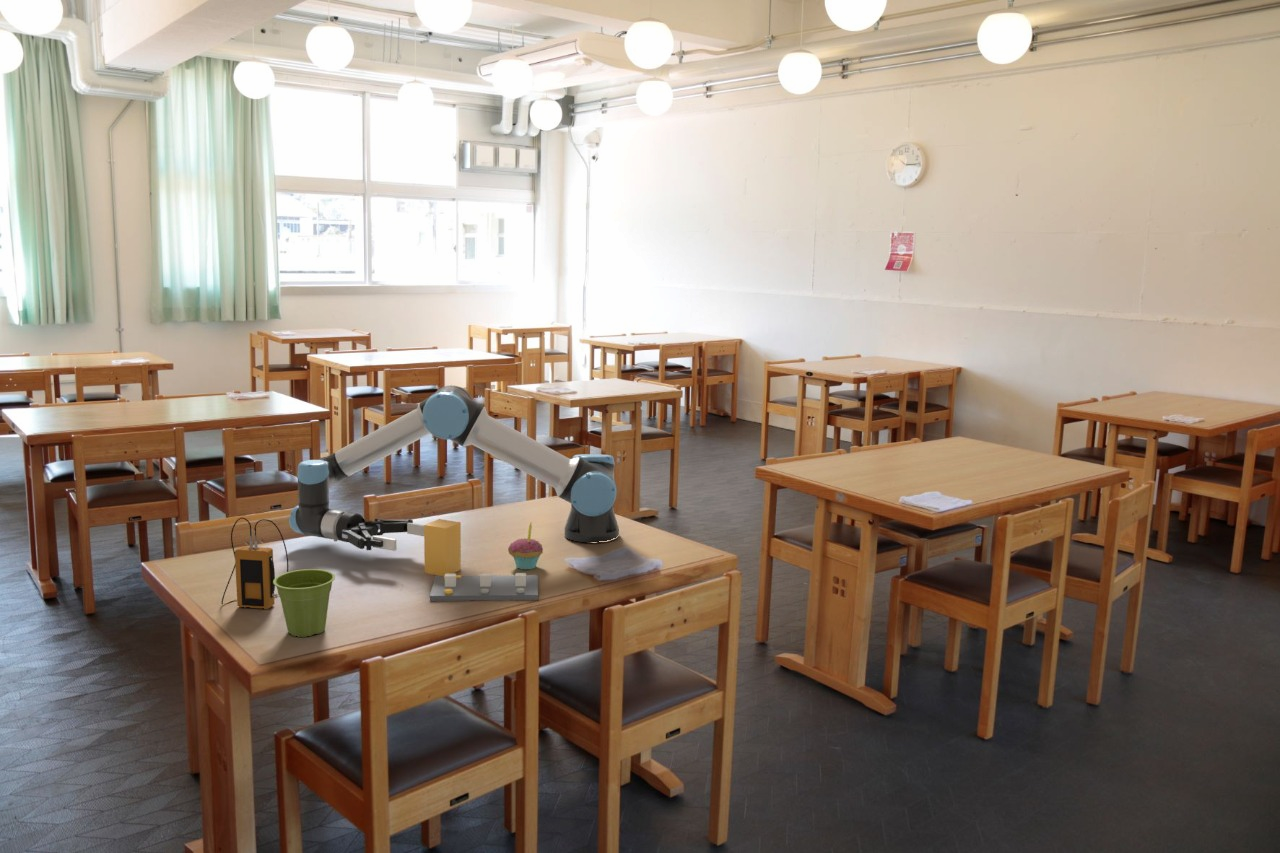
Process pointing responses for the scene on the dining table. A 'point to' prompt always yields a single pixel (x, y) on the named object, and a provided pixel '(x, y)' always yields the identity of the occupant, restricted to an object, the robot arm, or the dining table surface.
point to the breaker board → (485, 587)
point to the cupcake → (526, 551)
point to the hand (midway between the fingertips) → (413, 538)
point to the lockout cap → (442, 547)
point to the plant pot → (305, 600)
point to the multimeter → (254, 573)
